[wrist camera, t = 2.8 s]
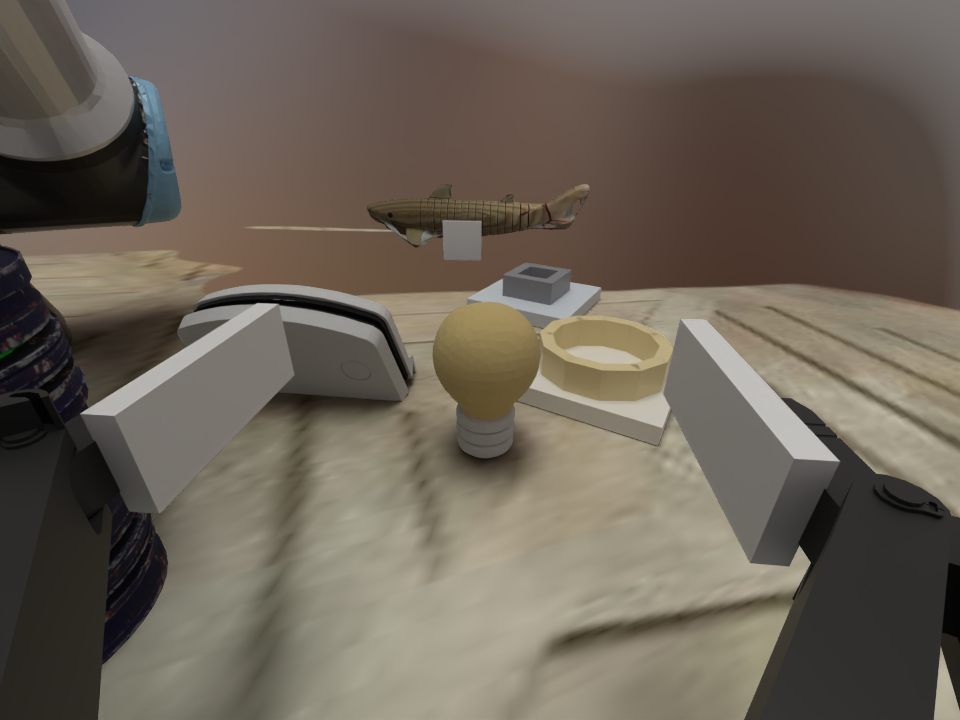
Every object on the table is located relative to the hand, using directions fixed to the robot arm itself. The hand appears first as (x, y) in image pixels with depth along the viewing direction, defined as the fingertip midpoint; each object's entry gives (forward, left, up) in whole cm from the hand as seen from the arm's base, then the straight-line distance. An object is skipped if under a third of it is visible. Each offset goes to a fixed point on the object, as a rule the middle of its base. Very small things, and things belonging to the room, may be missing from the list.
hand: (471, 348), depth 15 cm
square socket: (-13, +35, -12) cm, 39 cm away
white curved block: (-21, +8, -13) cm, 26 cm away
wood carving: (-31, +51, -13) cm, 61 cm away
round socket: (-1, +21, -12) cm, 24 cm away
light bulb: (-5, +9, -13) cm, 16 cm away
